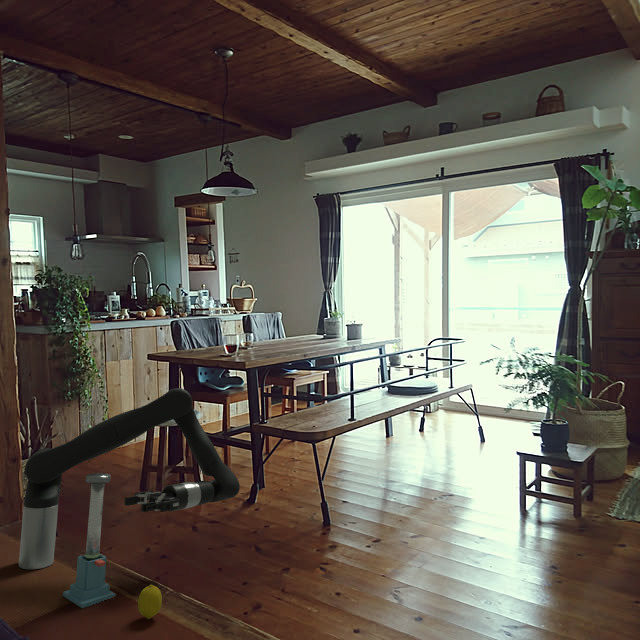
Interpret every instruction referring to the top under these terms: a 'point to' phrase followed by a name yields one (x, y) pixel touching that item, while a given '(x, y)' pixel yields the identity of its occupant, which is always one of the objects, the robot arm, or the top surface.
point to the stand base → (89, 583)
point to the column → (95, 513)
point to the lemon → (149, 601)
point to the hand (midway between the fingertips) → (133, 505)
